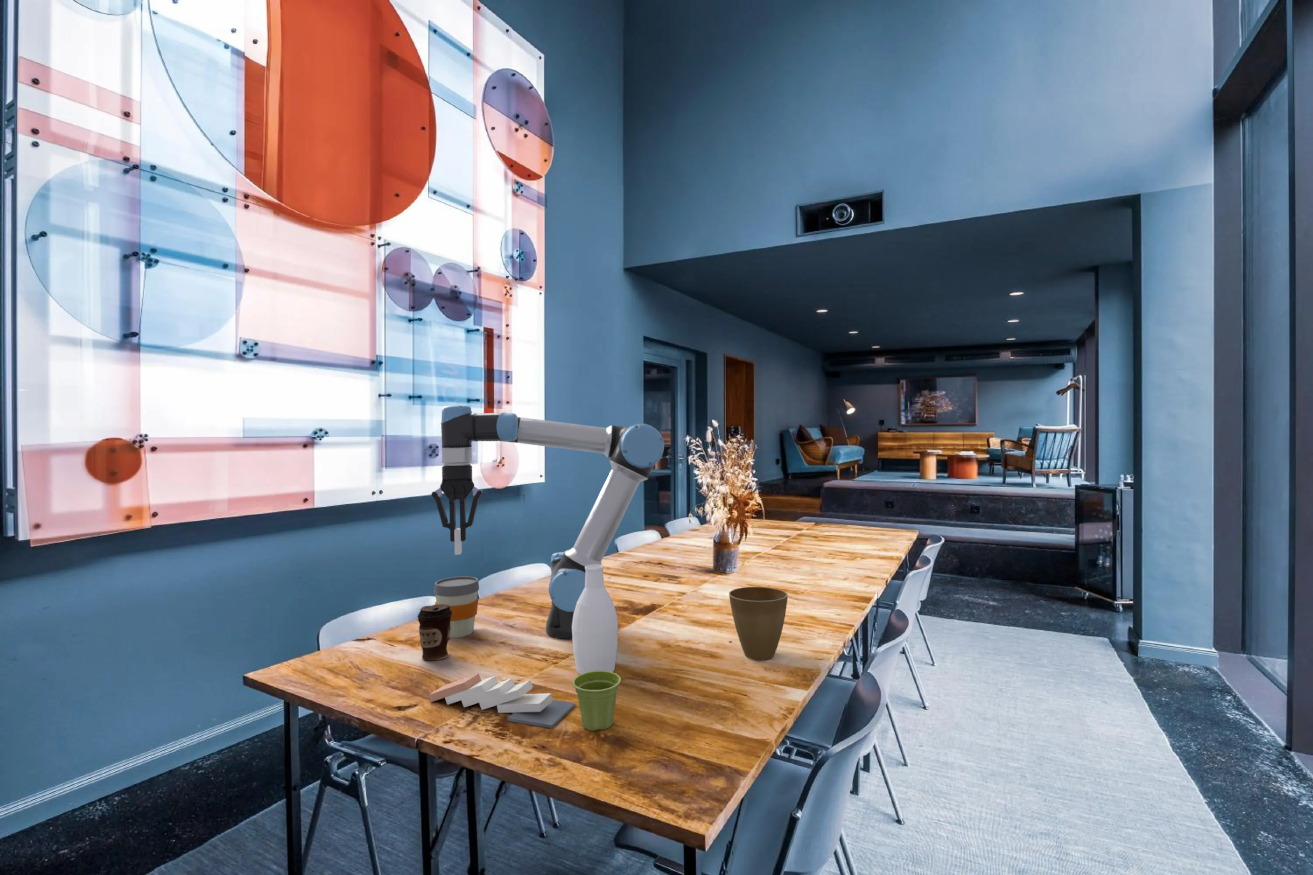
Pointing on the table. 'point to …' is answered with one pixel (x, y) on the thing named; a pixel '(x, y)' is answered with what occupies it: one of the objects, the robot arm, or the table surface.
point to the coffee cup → (434, 631)
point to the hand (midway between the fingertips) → (458, 553)
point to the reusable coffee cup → (459, 602)
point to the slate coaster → (544, 714)
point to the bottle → (594, 625)
